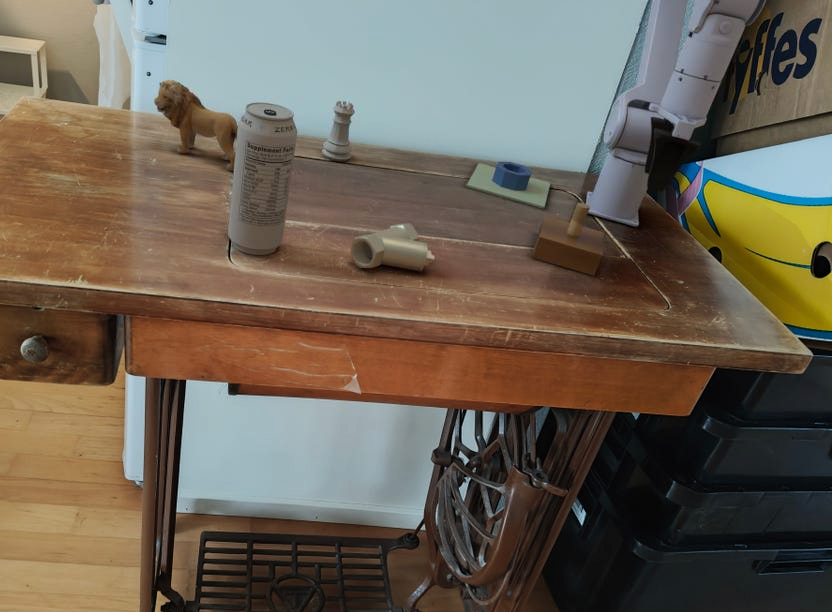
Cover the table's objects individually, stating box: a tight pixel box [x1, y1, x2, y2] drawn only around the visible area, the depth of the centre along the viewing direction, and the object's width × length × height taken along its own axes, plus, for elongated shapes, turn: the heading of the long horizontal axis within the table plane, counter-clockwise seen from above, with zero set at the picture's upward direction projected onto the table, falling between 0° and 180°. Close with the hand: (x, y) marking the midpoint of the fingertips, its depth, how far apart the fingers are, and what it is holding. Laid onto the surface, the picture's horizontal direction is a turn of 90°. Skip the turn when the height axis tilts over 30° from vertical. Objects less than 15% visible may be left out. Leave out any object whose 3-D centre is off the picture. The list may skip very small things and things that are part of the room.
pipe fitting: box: [350, 222, 435, 272], centre depth 82 cm, size 8×4×7 cm
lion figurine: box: [153, 79, 238, 172], centre depth 98 cm, size 15×5×9 cm, turn 73°
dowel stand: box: [531, 202, 604, 277], centre depth 93 cm, size 8×8×7 cm
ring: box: [492, 161, 533, 191], centre depth 113 cm, size 5×5×2 cm
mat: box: [465, 162, 551, 210], centre depth 114 cm, size 12×12×1 cm
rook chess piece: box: [321, 100, 355, 162], centre depth 108 cm, size 4×4×8 cm
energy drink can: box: [227, 102, 298, 256], centre depth 77 cm, size 6×6×15 cm
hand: (653, 181), depth 97 cm, fingers open, 7 cm apart
